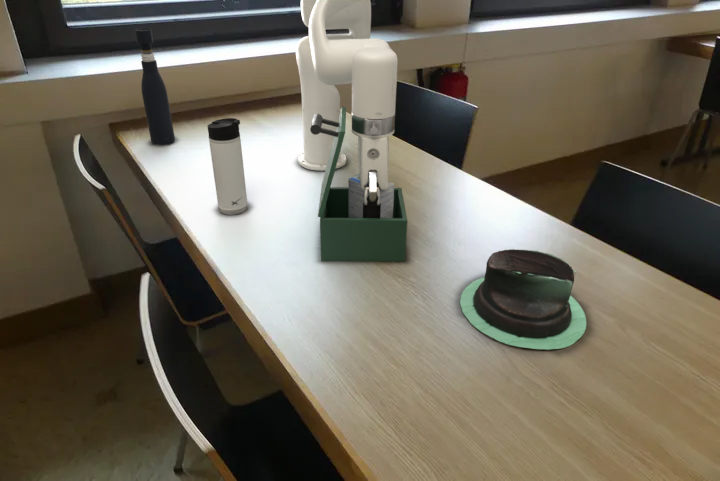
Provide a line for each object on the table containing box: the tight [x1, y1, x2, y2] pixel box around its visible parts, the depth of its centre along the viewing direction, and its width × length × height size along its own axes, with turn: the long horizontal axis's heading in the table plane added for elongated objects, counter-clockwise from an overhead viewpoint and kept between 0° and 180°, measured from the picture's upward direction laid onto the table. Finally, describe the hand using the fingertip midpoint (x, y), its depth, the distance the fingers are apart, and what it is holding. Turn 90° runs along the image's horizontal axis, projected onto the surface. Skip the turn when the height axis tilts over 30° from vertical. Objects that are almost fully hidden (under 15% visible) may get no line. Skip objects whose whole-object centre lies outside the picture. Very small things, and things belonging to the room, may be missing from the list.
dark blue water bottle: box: [134, 27, 176, 146], centre depth 144 cm, size 6×6×30 cm
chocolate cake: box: [459, 248, 587, 351], centre depth 86 cm, size 15×19×20 cm
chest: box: [319, 186, 408, 263], centre depth 103 cm, size 16×14×9 cm
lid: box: [310, 106, 347, 218], centre depth 96 cm, size 16×14×6 cm
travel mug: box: [206, 117, 249, 216], centre depth 112 cm, size 6×7×20 cm
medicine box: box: [347, 173, 395, 218], centre depth 101 cm, size 8×4×9 cm, turn 47°
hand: (370, 210), depth 102 cm, fingers closed on medicine box, 8 cm apart
